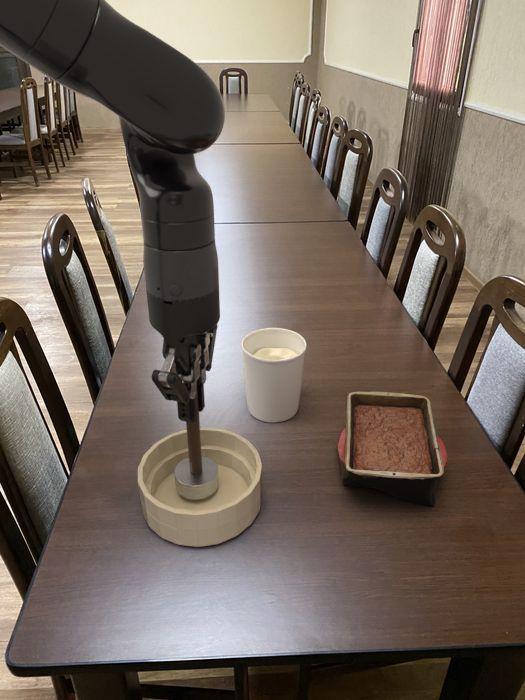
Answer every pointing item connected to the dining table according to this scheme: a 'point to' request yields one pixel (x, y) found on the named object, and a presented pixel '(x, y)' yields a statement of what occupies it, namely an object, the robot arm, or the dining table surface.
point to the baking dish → (392, 445)
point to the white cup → (273, 373)
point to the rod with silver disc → (195, 466)
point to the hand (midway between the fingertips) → (191, 414)
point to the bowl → (208, 513)
